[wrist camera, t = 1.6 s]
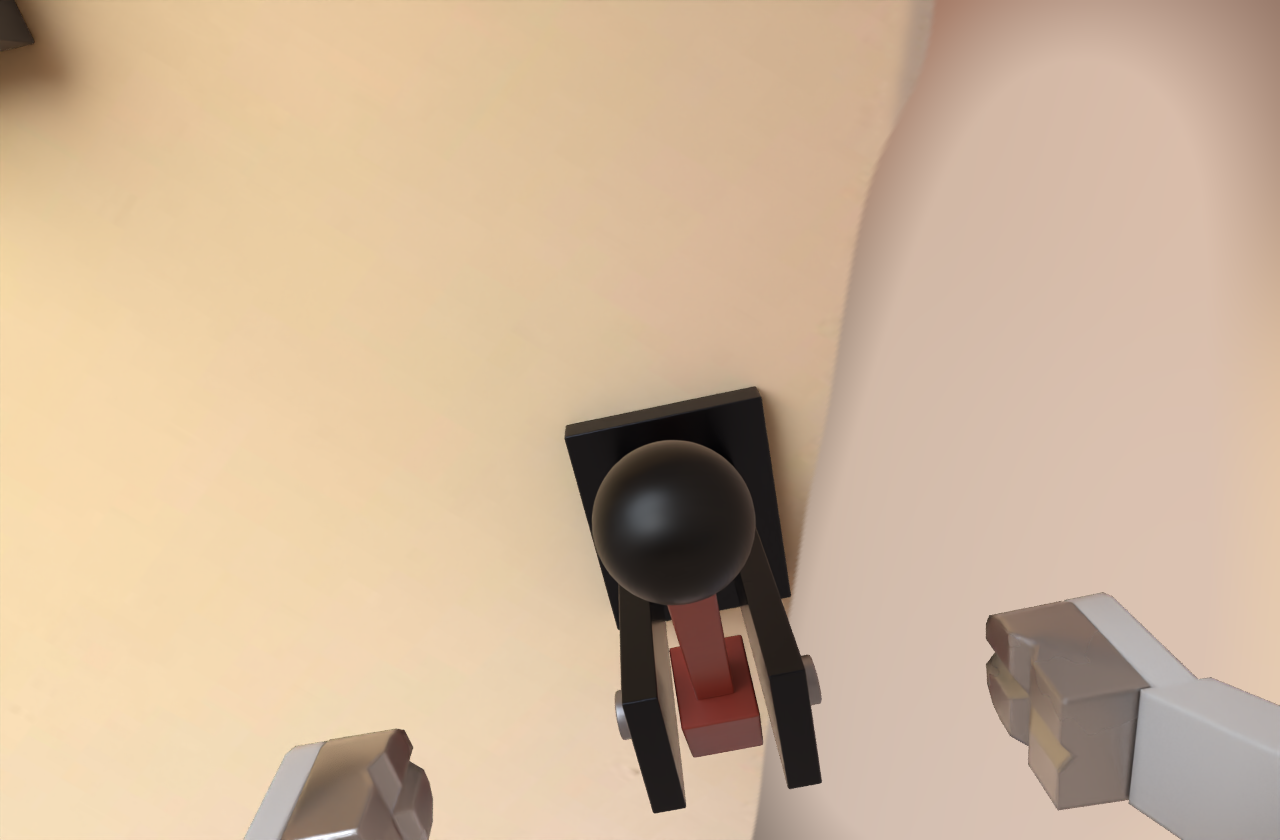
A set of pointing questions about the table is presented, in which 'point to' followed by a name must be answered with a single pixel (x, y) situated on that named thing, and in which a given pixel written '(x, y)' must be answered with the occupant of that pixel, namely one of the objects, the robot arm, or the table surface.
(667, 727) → the switch bracket
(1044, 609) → the robot arm
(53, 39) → the table surface
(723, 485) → the switch lever
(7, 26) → the button box
